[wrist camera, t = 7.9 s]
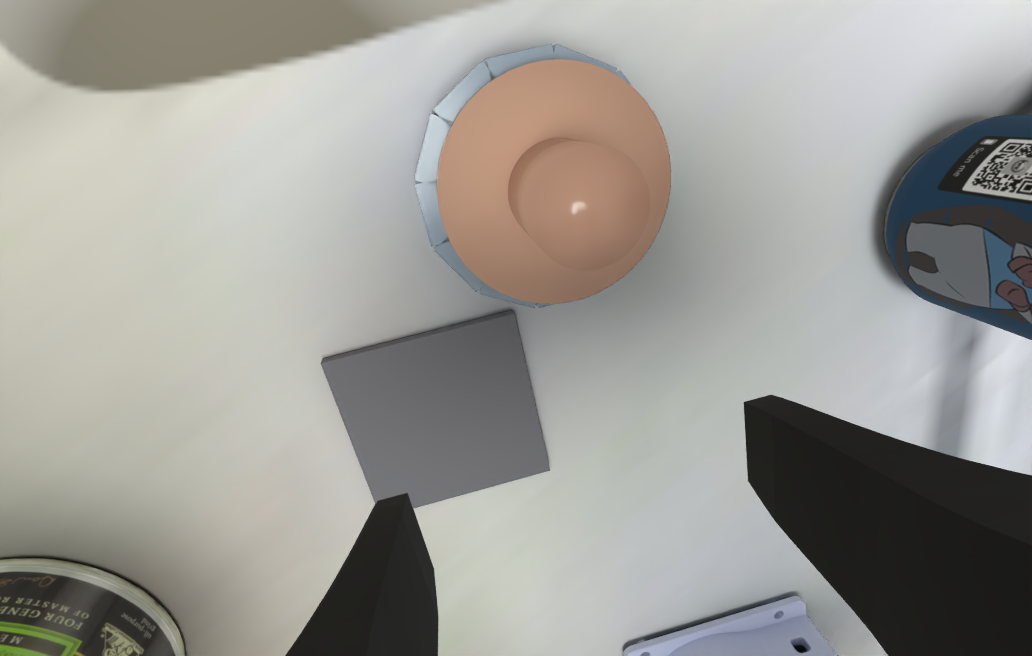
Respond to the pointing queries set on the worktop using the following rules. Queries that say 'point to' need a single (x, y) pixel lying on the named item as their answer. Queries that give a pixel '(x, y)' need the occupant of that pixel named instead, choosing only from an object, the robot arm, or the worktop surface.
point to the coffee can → (79, 613)
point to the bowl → (438, 133)
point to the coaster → (440, 410)
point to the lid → (553, 181)
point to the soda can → (969, 223)
